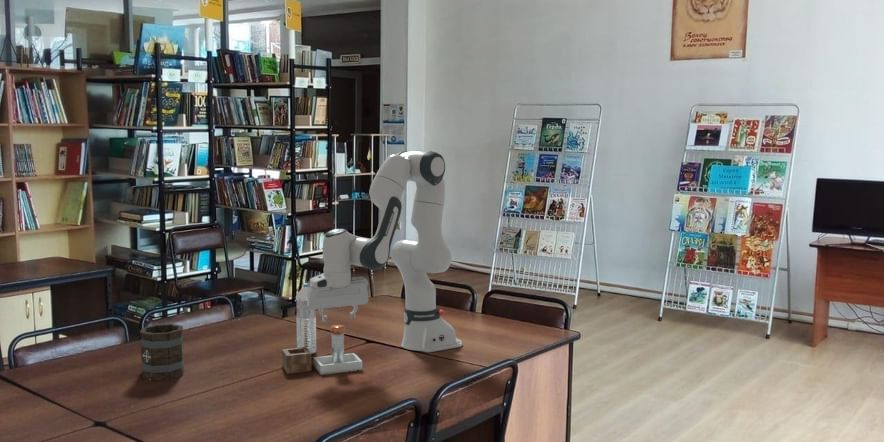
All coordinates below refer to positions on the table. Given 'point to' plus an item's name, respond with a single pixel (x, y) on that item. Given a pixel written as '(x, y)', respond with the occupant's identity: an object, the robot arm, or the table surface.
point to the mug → (162, 351)
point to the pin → (337, 343)
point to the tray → (337, 364)
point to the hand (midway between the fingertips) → (338, 319)
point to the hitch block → (296, 360)
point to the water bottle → (305, 322)
